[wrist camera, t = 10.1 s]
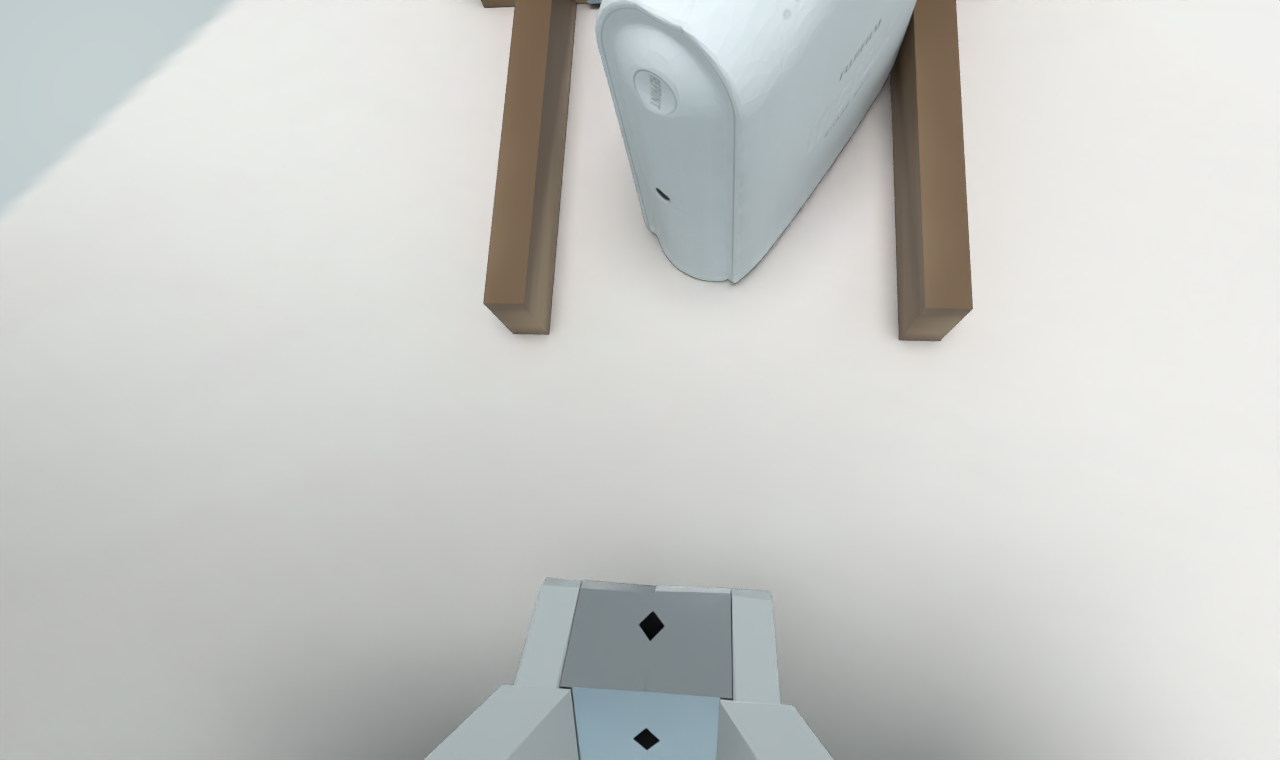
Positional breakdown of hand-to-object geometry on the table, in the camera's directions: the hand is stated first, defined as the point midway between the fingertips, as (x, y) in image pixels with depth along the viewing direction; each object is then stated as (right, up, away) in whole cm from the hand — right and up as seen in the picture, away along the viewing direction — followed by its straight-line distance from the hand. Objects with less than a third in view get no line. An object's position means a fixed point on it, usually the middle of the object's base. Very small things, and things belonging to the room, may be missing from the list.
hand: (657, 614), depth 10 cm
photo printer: (+4, +11, +14) cm, 18 cm away
